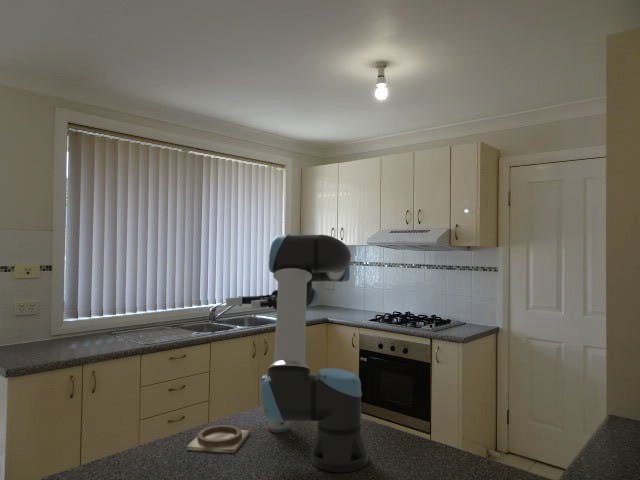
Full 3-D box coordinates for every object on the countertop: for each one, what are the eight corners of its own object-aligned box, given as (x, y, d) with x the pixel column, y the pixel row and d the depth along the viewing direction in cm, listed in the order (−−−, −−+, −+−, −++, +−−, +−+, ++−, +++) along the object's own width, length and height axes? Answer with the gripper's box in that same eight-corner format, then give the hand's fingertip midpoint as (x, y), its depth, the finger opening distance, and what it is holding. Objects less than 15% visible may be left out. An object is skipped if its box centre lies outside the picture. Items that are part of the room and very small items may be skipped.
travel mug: (287, 433, 144) (287, 367, 144) (266, 432, 145) (266, 366, 145) (291, 426, 150) (291, 363, 150) (271, 425, 151) (271, 362, 152)
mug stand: (249, 433, 144) (249, 425, 144) (234, 453, 130) (234, 443, 130) (206, 431, 146) (206, 423, 146) (186, 449, 132) (186, 440, 132)
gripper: (308, 312, 167) (263, 318, 152) (262, 306, 184) (217, 311, 168) (308, 290, 168) (263, 294, 152) (262, 287, 184) (217, 290, 169)
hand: (238, 303), depth 160 cm, fingers open, 13 cm apart
